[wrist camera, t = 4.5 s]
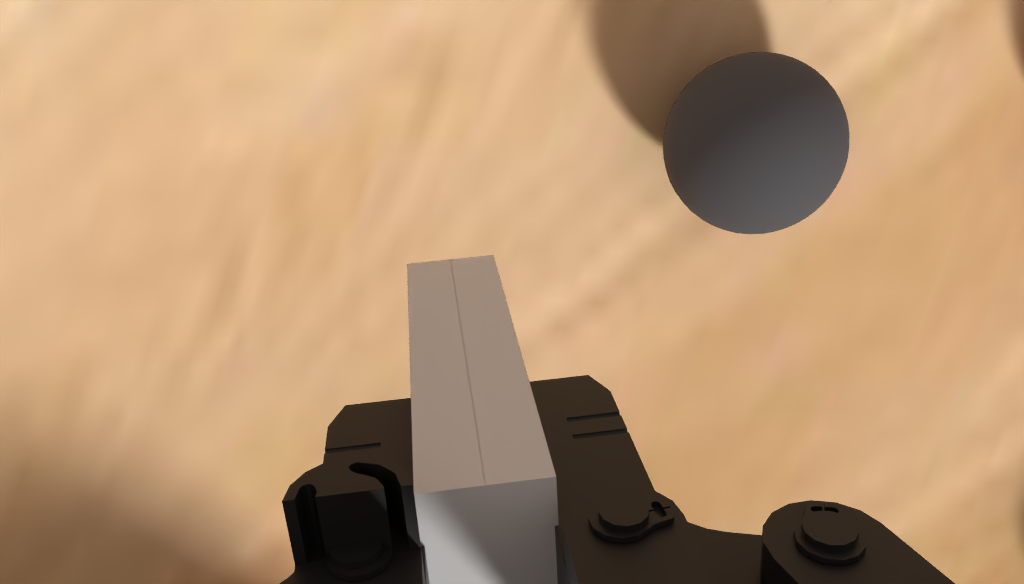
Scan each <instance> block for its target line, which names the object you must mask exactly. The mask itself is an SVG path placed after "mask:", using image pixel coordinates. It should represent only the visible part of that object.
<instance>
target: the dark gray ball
mask: <svg viewBox="0 0 1024 584" xmlns="http://www.w3.org/2000/svg"><path fill="white" fill-rule="evenodd" d="M848 152H849V126H848V121H847V117H846V113H845V110H844V108H843V105H842V103H841V101H840V99H839V97H838V95H837V93H836V92H835V90H834V89H833V87H832V86H831V85H830V84H829V83H828V81H827V80H826V79H825V78H824V77H823V76H822V75H820V74H819V73H818V72H817V71H816V70H815V69H813V68H812V67H810V66H808V65H807V64H805V63H803V62H801V61H799V60H797V59H795V58H792V57H789V56H786V55H782V54H777V53H769V52H751V53H745V54H739V55H735V56H732V57H728V58H726V59H723V60H721V61H719V62H716V63H715V64H713V65H711V66H710V67H708V68H706V69H705V70H704V71H702V72H701V73H700V74H698V75H697V76H696V77H695V78H694V79H693V80H692V81H691V82H690V83H689V84H688V85H687V86H686V87H685V88H684V90H683V91H682V92H681V93H680V95H679V97H678V98H677V100H676V101H675V103H674V105H673V107H672V109H671V112H670V114H669V117H668V120H667V123H666V128H665V133H664V141H663V154H664V162H665V167H666V171H667V174H668V177H669V180H670V182H671V184H672V186H673V188H674V190H675V192H676V193H677V195H678V196H679V197H680V199H681V200H682V202H683V203H684V204H685V205H686V206H687V207H688V208H689V209H690V210H691V211H692V212H693V213H694V214H696V215H697V216H698V217H700V218H701V219H702V220H704V221H706V222H707V223H709V224H711V225H713V226H716V227H718V228H721V229H724V230H727V231H731V232H735V233H743V234H763V233H769V232H774V231H778V230H781V229H784V228H787V227H789V226H792V225H794V224H796V223H798V222H800V221H801V220H803V219H805V218H806V217H808V216H809V215H811V214H812V213H813V212H815V211H816V210H817V209H818V208H819V207H820V206H821V205H822V204H823V203H824V202H825V201H826V200H827V199H828V197H829V196H830V195H831V193H832V192H833V190H834V189H835V188H836V186H837V184H838V182H839V180H840V178H841V176H842V174H843V171H844V169H845V165H846V162H847V158H848Z"/></svg>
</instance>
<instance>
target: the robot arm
mask: <svg viewBox="0 0 1024 584" xmlns="http://www.w3.org/2000/svg"><path fill="white" fill-rule="evenodd" d="M407 278H408V312H409V346H410V381H411V398H406V399H398V400H389V401H380V402H372V403H363V404H354V405H346V406H345V407H344V408H343V409H342V410H341V411H340V413H339V414H338V415H337V416H336V418H335V419H334V420H333V421H332V422H331V424H330V425H329V426H328V431H327V438H326V446H325V454H324V461H323V464H321V465H319V466H317V467H315V468H313V469H311V470H309V471H307V472H305V473H304V474H303V475H302V476H301V477H299V478H298V479H297V480H296V481H295V482H294V483H292V484H291V485H290V486H289V488H288V490H287V492H286V494H285V496H284V498H283V500H282V503H283V508H284V513H285V518H286V523H287V527H288V532H289V537H290V542H291V547H292V552H293V557H294V562H295V571H294V573H293V574H292V575H291V576H290V577H289V578H287V579H286V580H284V581H283V582H281V583H280V584H955V583H953V582H952V581H951V580H950V579H949V578H947V577H946V576H945V575H944V574H942V573H941V572H940V571H939V570H938V569H936V568H935V567H934V566H933V565H932V564H930V563H929V562H928V561H927V560H925V559H924V558H923V557H922V556H921V555H919V554H918V553H917V552H916V551H914V550H913V549H912V548H911V547H910V546H908V545H907V544H906V543H905V542H903V541H902V540H901V539H900V538H899V537H897V536H896V535H895V534H894V533H893V532H891V531H890V530H889V529H888V528H886V527H885V526H884V525H883V524H882V523H880V522H879V521H877V520H875V519H874V518H872V517H870V516H869V515H867V514H865V513H864V512H862V511H860V510H857V509H854V508H851V507H848V506H845V505H842V504H839V503H834V502H823V501H812V500H810V501H804V502H798V503H791V504H788V505H786V506H784V507H782V508H780V509H778V510H776V511H774V512H772V513H771V515H770V516H769V518H768V519H767V521H766V522H765V524H764V525H763V532H762V535H752V534H742V533H731V532H723V531H717V530H711V529H706V528H703V527H700V526H697V525H694V524H691V523H689V522H687V521H686V518H685V516H684V514H683V513H682V512H681V511H680V509H679V508H678V507H677V506H676V504H675V503H674V502H673V501H672V500H670V499H668V498H667V497H665V496H663V495H661V494H660V493H658V492H656V491H655V490H654V488H653V486H652V483H651V481H650V479H649V477H648V474H647V472H646V470H645V468H644V466H643V463H642V461H641V459H640V457H639V454H638V452H637V450H636V448H635V445H634V443H633V441H632V439H631V437H630V434H629V433H627V428H626V425H625V423H624V421H623V419H622V416H620V414H619V410H618V407H617V405H616V403H615V401H614V399H613V396H612V394H611V392H610V391H609V390H608V389H607V388H605V387H604V386H603V385H601V384H600V383H598V382H597V381H596V380H594V379H593V378H592V377H590V376H589V375H585V376H576V377H567V378H559V379H550V380H541V381H533V382H529V379H528V375H527V372H526V368H525V365H524V361H523V358H522V354H521V351H520V347H519V344H518V340H517V336H516V333H515V329H514V326H513V322H512V319H511V315H510V312H509V308H508V305H507V301H506V298H505V294H504V291H503V287H502V284H501V280H500V276H499V273H498V269H497V266H496V262H495V259H494V255H490V256H480V257H470V258H460V259H450V260H440V261H431V262H421V263H411V264H407Z"/></svg>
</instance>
